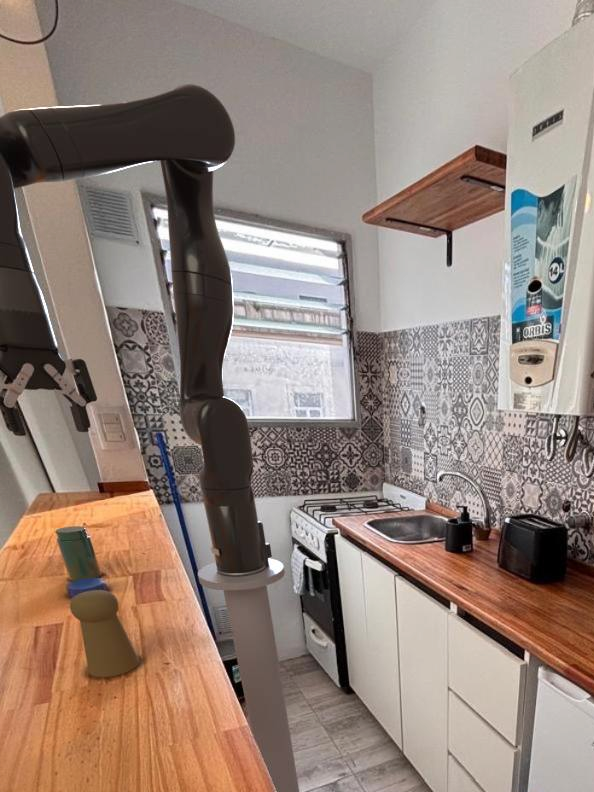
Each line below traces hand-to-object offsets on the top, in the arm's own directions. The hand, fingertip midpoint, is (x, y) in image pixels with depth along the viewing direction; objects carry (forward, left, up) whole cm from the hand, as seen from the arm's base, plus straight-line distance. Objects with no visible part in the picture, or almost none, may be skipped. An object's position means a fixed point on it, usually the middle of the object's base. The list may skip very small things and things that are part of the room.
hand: (52, 433), depth 79 cm
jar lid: (-1, -7, -27) cm, 27 cm away
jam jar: (-5, -16, -28) cm, 33 cm away
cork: (+12, +24, -28) cm, 39 cm away
